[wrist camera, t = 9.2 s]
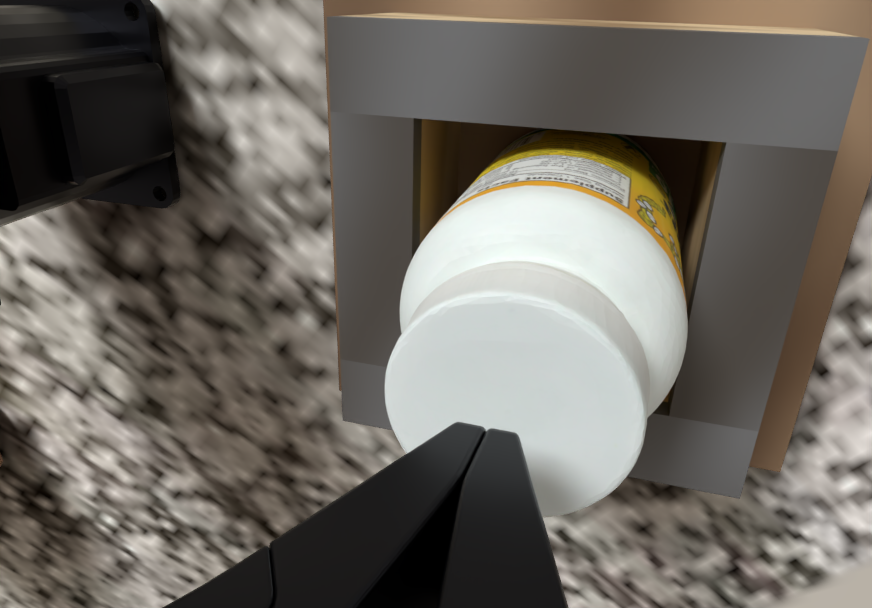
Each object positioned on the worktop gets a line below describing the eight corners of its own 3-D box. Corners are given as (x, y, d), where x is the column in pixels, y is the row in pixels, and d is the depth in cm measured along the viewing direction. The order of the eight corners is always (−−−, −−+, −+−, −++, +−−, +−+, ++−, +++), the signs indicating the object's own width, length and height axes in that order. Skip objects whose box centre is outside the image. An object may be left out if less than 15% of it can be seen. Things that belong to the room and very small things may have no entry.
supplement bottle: (490, 105, 18) (346, 207, 9) (701, 137, 16) (753, 285, 8) (466, 288, 20) (336, 501, 12) (649, 326, 19) (648, 593, 11)
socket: (348, 378, 24) (280, 465, 19) (333, -73, 18) (229, -96, 13) (775, 455, 20) (810, 581, 16) (934, -70, 14) (1059, -99, 10)
